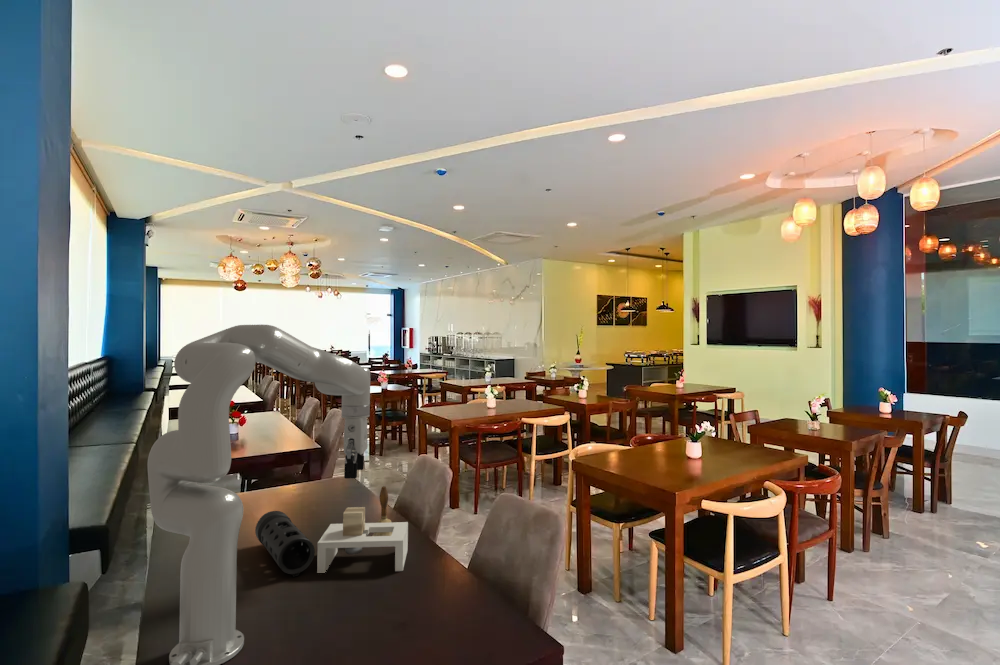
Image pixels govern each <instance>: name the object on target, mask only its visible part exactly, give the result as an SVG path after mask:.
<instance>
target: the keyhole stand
mask: <svg viewBox="0 0 1000 665" xmlns="http://www.w3.org/2000/svg"><path fill="white" fill-rule="evenodd" d="M375 532H392V535H391V536H373V535H372V536H371V535H369V534H371V533H373V534H374V533H375ZM408 542H409V522H408V521H402V522H400V521H399V522H397V521H395V522H392V521H391V522H390V523H377V522H365V530H364V532H363V534H362V535H355V536H343V523H330V524H329V526H328V527H327V528H326V530H325V531H324V533H323V534H322V536H321V538H320V539H319V540H318V541H317V557H316V558H317V559H316V560H317V563H316V564H317V566H316V567H317V569H316V570H317V571H316V573H325V572H326V573H327V571H328V569H329V567H330V566H331V565H332V563H333V560H334V559H335V557H336V556H337V553H338V550H339V549H346V548H355V547H362V548H382V547H384V548H386V547H390V548H391V547H394V549H395V550H394V552H395V553H394V554H395V555H394V572H403V571H404V568H405V564H406V559H407V554H408V547H409V546H408V545H409V544H408ZM329 565H330V566H329ZM326 570H327V571H326ZM326 573H325V574H326Z"/></svg>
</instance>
